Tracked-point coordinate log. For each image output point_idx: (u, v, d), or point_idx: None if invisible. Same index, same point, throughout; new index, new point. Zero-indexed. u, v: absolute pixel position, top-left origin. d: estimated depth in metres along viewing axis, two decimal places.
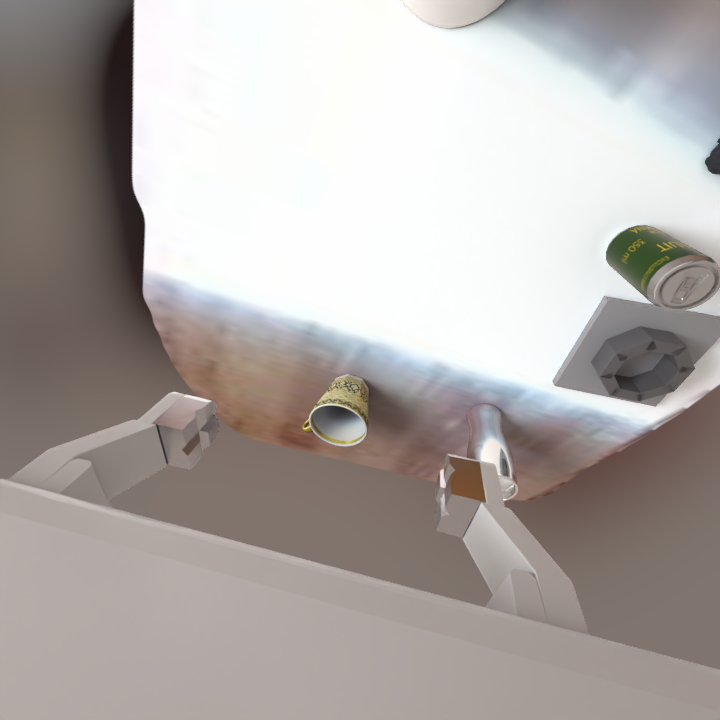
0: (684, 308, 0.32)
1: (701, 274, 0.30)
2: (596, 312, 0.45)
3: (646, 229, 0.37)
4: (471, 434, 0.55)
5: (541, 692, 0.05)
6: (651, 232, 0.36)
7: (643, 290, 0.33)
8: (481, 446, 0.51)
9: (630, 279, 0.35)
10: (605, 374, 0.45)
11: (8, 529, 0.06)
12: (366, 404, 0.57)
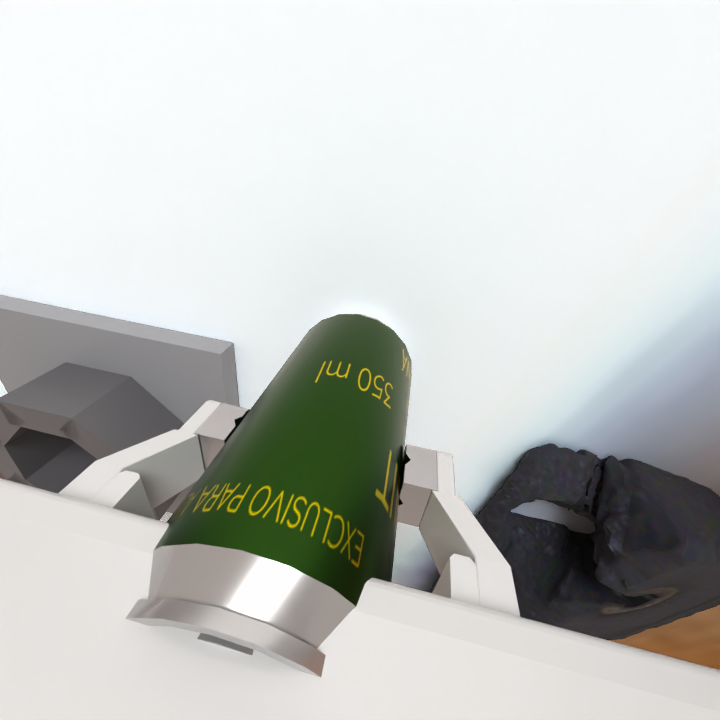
0: None
1: None
2: (188, 338, 0.17)
3: (408, 385, 0.14)
4: None
5: (541, 691, 0.05)
6: (407, 402, 0.13)
7: (193, 509, 0.07)
8: None
9: (257, 415, 0.09)
10: (9, 409, 0.16)
11: (8, 529, 0.06)
12: None
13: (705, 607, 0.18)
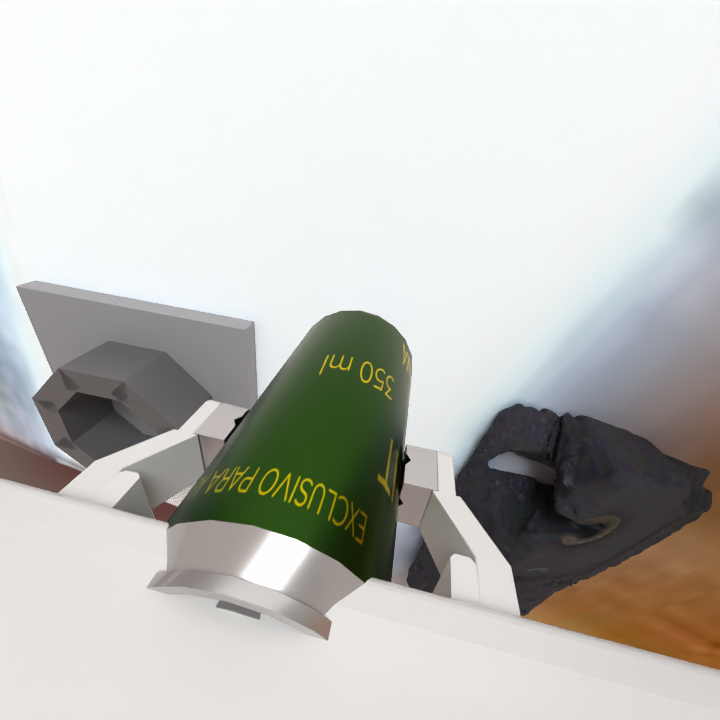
0: None
1: None
2: (216, 318, 0.20)
3: (409, 379, 0.14)
4: None
5: (541, 692, 0.05)
6: (407, 395, 0.13)
7: (206, 490, 0.07)
8: None
9: (264, 405, 0.09)
10: (69, 376, 0.19)
11: (8, 529, 0.06)
12: None
13: (649, 543, 0.22)
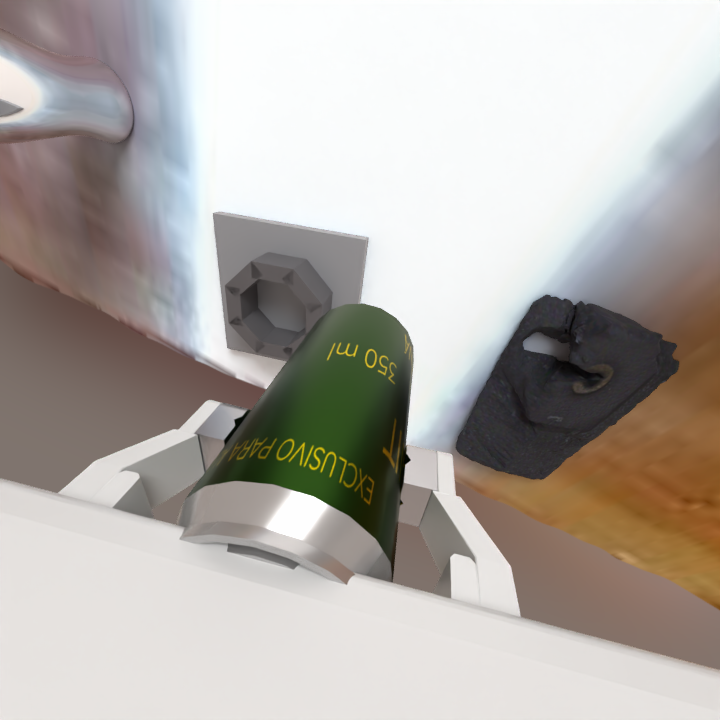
0: None
1: None
2: (344, 234, 0.31)
3: (411, 368, 0.15)
4: (27, 41, 0.23)
5: (541, 692, 0.05)
6: (409, 382, 0.14)
7: (228, 459, 0.08)
8: None
9: (277, 388, 0.10)
10: (256, 267, 0.30)
11: (8, 529, 0.06)
12: None
13: (634, 400, 0.32)
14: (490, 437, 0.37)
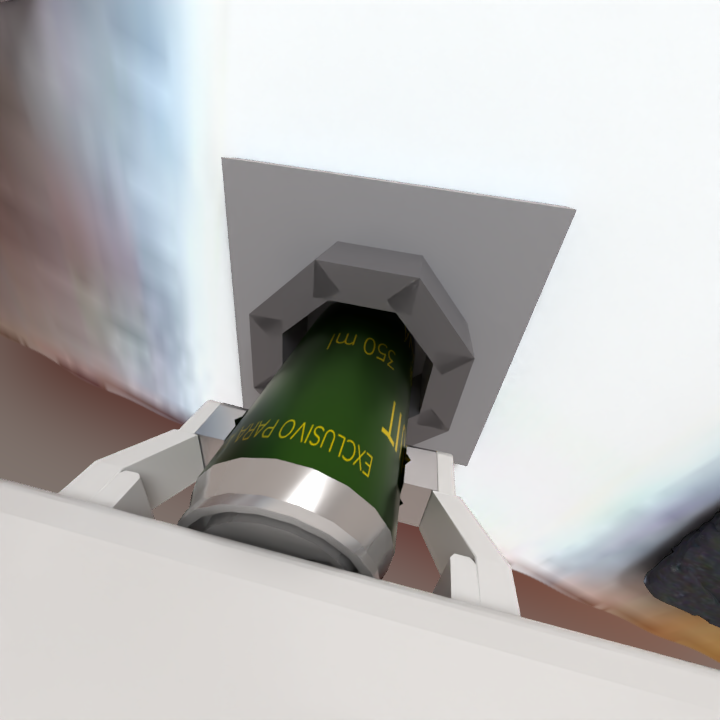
0: None
1: None
2: (514, 199, 0.14)
3: (412, 356, 0.15)
4: None
5: (541, 692, 0.05)
6: (410, 369, 0.14)
7: (235, 440, 0.08)
8: None
9: (280, 377, 0.11)
10: (327, 274, 0.13)
11: (8, 529, 0.06)
12: None
13: None
14: None
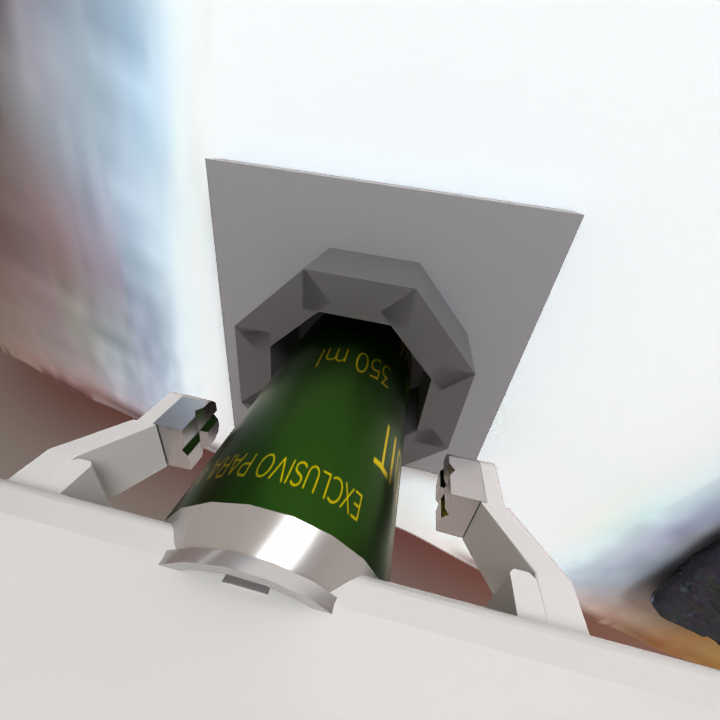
0: None
1: None
2: (517, 203, 0.13)
3: (408, 370, 0.14)
4: None
5: (541, 692, 0.05)
6: (406, 385, 0.13)
7: (208, 477, 0.07)
8: None
9: (263, 398, 0.10)
10: (317, 284, 0.12)
11: (8, 529, 0.06)
12: None
13: None
14: None
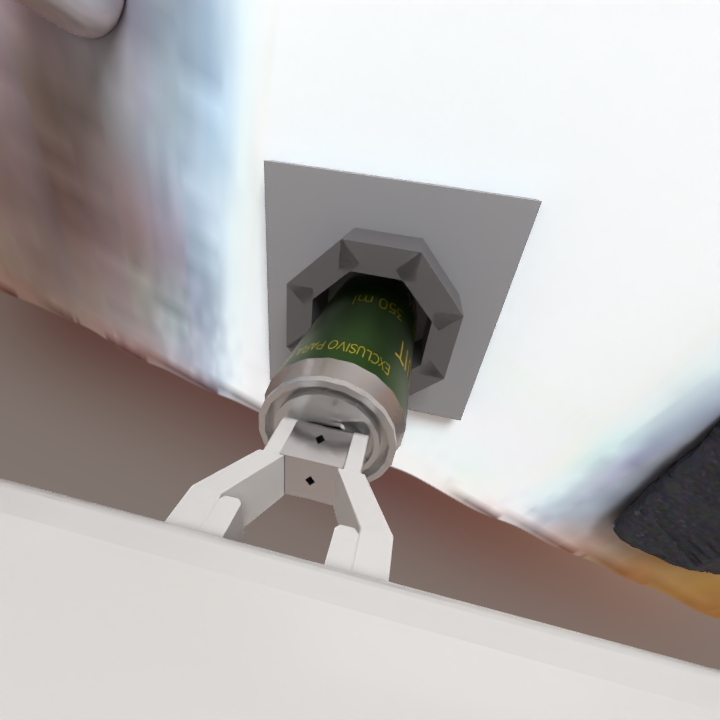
0: None
1: None
2: (495, 193, 0.18)
3: (414, 318, 0.19)
4: None
5: (541, 692, 0.05)
6: (413, 327, 0.18)
7: (296, 354, 0.12)
8: None
9: (319, 322, 0.14)
10: (350, 250, 0.16)
11: (8, 529, 0.06)
12: None
13: None
14: (687, 524, 0.24)
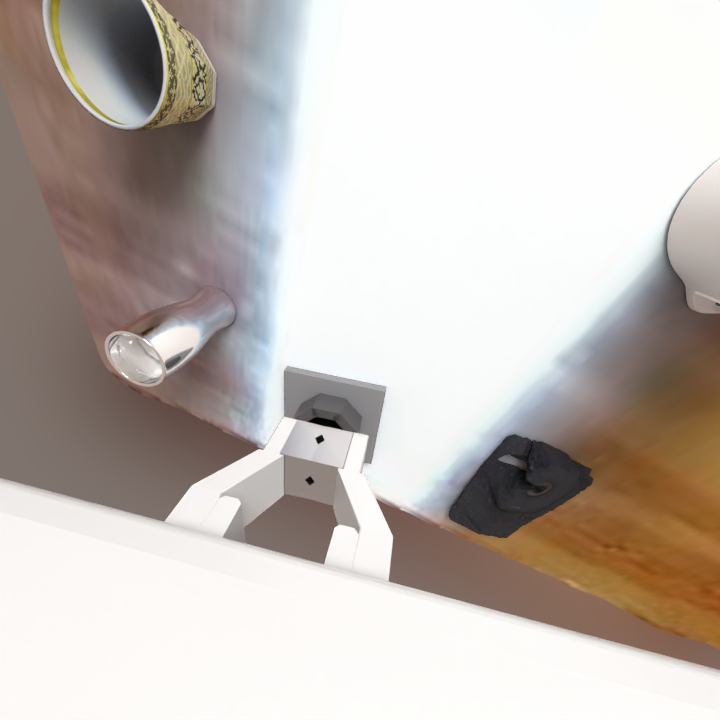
0: None
1: None
2: (370, 385, 0.48)
3: (342, 429, 0.49)
4: (191, 304, 0.40)
5: (541, 692, 0.05)
6: None
7: None
8: (187, 325, 0.37)
9: None
10: (315, 410, 0.46)
11: (8, 529, 0.06)
12: (175, 120, 0.31)
13: (565, 499, 0.50)
14: (473, 512, 0.54)
